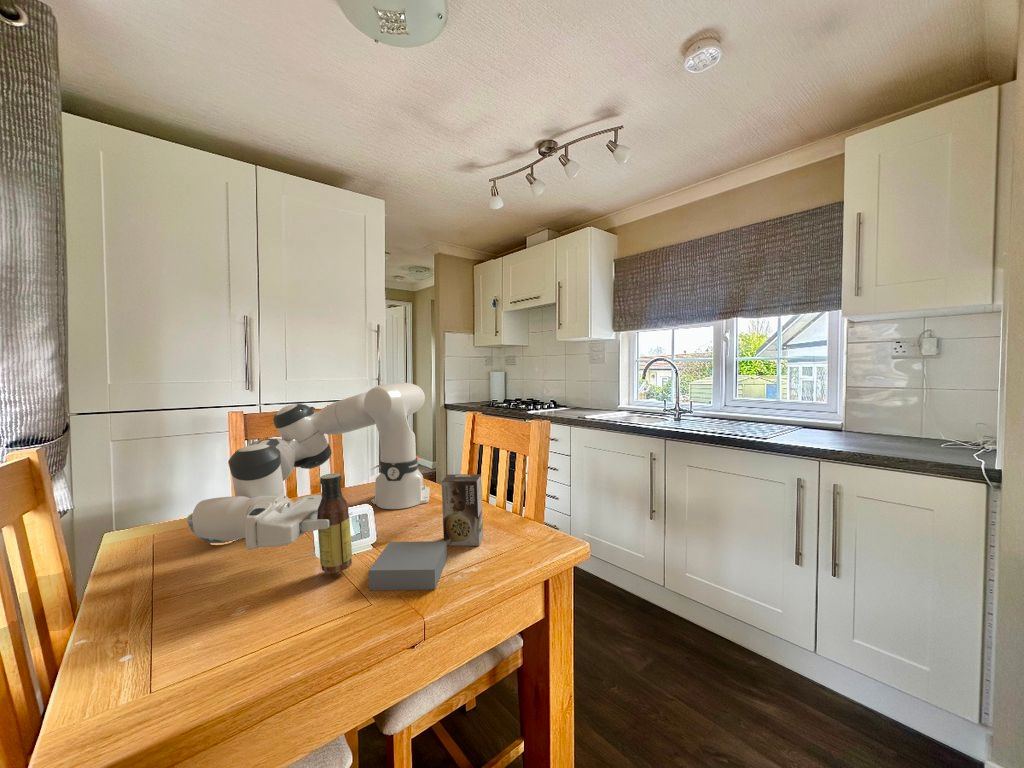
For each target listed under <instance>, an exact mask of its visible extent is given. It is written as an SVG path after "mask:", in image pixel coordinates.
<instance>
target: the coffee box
mask: <svg viewBox="0 0 1024 768" xmlns="http://www.w3.org/2000/svg"><path fill="white" fill-rule="evenodd" d="M440 485H441V498H442V499H441V500H442V501H441V502H442V503H441V505H442V528H443V529H442V533H443V541H447V546H457V547H458V546H461V547H462V546H465V547H467V546H468V547H472V546H473V547H479V546H480V545H481V544H482V543H481V542H482V540H483V538H484V523H483V522H484V521H483V520H484V518H483V517H484V516H483V493H482V492H483V491H482V473H480V474H479V473H477V474H473V473H472V474H467V473H466V474H465V473H464V474H447V475H445V477H444V478H443V480H441V482H440Z"/></svg>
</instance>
